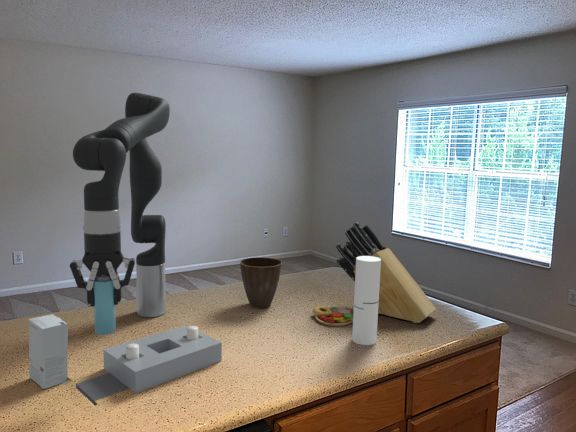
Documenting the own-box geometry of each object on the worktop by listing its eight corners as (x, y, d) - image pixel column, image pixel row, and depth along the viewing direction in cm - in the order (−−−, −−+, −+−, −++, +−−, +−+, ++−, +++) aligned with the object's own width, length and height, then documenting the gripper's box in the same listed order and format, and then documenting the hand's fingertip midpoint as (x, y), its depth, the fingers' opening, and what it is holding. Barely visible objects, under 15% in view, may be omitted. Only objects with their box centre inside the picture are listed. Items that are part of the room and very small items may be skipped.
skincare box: (28, 378, 112) (25, 318, 110) (54, 369, 117) (52, 312, 115) (44, 390, 107) (41, 328, 105) (70, 381, 111) (68, 321, 109)
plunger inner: (184, 353, 125) (184, 327, 124) (194, 349, 127) (193, 325, 126) (191, 356, 123) (190, 331, 122) (200, 353, 125) (200, 328, 124)
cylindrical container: (376, 346, 136) (380, 262, 133) (351, 343, 137) (355, 260, 134) (376, 337, 143) (381, 256, 139) (352, 334, 144) (356, 255, 141)
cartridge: (93, 335, 104) (91, 278, 102) (96, 328, 108) (94, 273, 106) (114, 333, 105) (113, 277, 103) (116, 326, 109) (115, 272, 107)
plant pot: (230, 303, 170) (231, 260, 167) (262, 295, 180) (263, 255, 177) (256, 315, 159) (257, 269, 156) (289, 306, 169) (290, 262, 166)
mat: (76, 387, 108) (75, 383, 108) (117, 374, 115) (117, 370, 115) (94, 405, 101) (94, 400, 101) (137, 389, 109) (137, 385, 108)
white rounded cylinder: (124, 373, 113) (123, 345, 112) (135, 369, 115) (135, 342, 114) (130, 377, 111) (129, 349, 110) (141, 373, 113) (141, 346, 112)
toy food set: (310, 314, 162) (310, 305, 162) (346, 312, 165) (347, 303, 164) (320, 328, 149) (320, 319, 149) (360, 326, 152) (360, 317, 151)
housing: (104, 372, 116) (103, 349, 115) (186, 345, 133) (186, 325, 132) (135, 397, 105) (135, 372, 104) (221, 364, 122) (221, 342, 121)
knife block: (345, 296, 182) (349, 217, 177) (436, 317, 162) (443, 228, 157) (331, 303, 173) (334, 220, 168) (425, 326, 153) (432, 233, 148)
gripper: (137, 226, 109) (138, 297, 111) (70, 227, 105) (72, 301, 107) (135, 232, 102) (137, 308, 104) (63, 233, 98) (67, 312, 100)
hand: (104, 304), depth 106 cm, fingers closed on cartridge, 4 cm apart
